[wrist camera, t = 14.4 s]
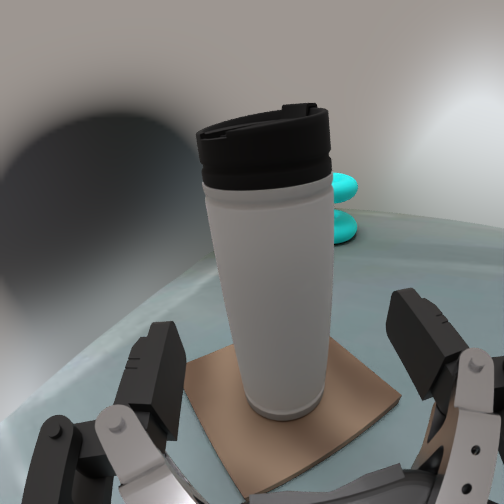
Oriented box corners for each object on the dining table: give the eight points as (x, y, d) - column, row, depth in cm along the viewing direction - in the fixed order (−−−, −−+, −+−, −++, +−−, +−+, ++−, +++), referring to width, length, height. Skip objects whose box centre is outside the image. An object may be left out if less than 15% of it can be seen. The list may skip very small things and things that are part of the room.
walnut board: (301, 320, 30) (301, 312, 30) (398, 403, 19) (401, 395, 18) (178, 375, 25) (174, 367, 24) (246, 501, 14) (244, 498, 13)
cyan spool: (370, 178, 42) (323, 189, 38) (368, 236, 46) (324, 253, 43) (329, 168, 50) (284, 177, 46) (331, 219, 55) (288, 232, 51)
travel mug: (341, 381, 21) (356, 102, 12) (286, 436, 17) (257, 101, 8) (285, 349, 25) (265, 107, 16) (230, 391, 22) (167, 119, 12)
